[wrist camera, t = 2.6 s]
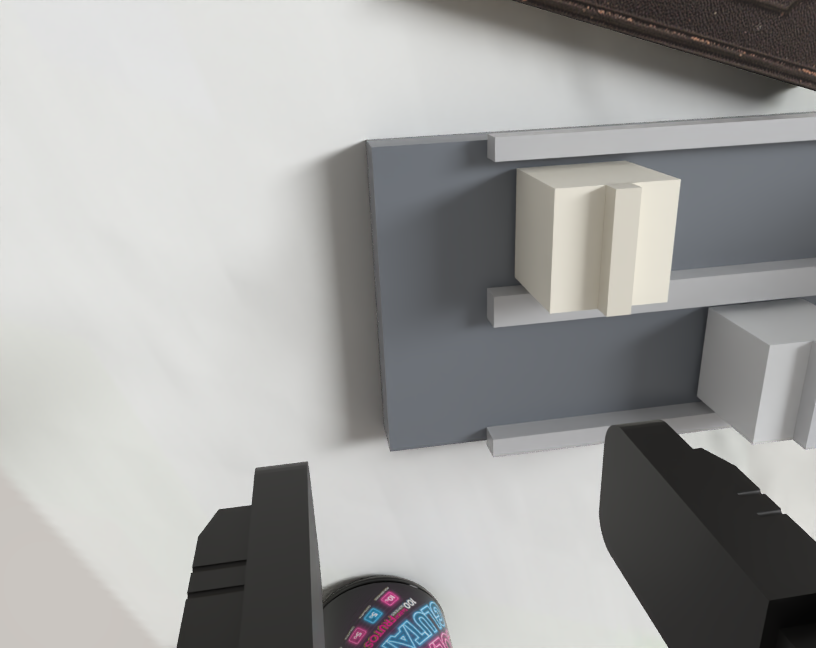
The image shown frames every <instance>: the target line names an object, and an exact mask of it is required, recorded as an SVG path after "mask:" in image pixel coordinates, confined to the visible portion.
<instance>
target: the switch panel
mask: <svg viewBox="0 0 816 648" xmlns="http://www.w3.org/2000/svg"><path fill="white" fill-rule="evenodd" d="M366 149H367V165H368V180H369V196H370V212H371V227H372V243H373V259H374V275H375V290H376V306H377V322H378V337H379V353H380V369H381V384H382V400H383V416H384V428H385V432H386V436H387V440H388V444H389V449H390V451H398V450H406V449H415V448H423V447H431V446H439V445H447V444H456V443H464V442H472V441H480V440H487V446H488V448H489V450H490V452H491V454H492V456H493V457H499V456H507V455H515V454H523V453H531V452H539V451H547V450H555V449H563V448H571V447H579V446H587V445H595V444H603V443H604V442H605V436H606V432H607V430H608V428H609V427H610V426H611V425H617V424H625V423H633V422H641V421H650V420H658V419H659V420H663V421H665V422H666V423H667V424H668V425H669V426H670V427H671V428H672V429H673V430H674V431H675V432H676V433H677V434H683V433H691V432H699V431H707V430H715V429H723V428H731V427H732V426H731V425H729V424H728V423H727V422H726V421H725V420H724V419H722V418H721V417H720V416H719V415H718V414H717V413H715V412H714V411H713V410H712V409H711V408H710V407H709V406H707V405H706V404H705V403H704V402H703V401H702V400H700V399H699V398H698V397H697V391H698V383H699V376H700V368H701V361H702V354H703V346H704V339H705V331H706V324H707V317H708V309H709V307H717V306H727V305H736V304H746V303H756V302H766V301H776V300H786V299H796V298H802V299H804V300H806V301H808V302H810V303H812V304H814V305H816V112H802V113H786V114H770V115H754V116H738V117H722V118H707V119H691V120H675V121H659V122H643V123H627V124H611V125H596V126H580V127H564V128H548V129H532V130H516V131H500V132H485V133H469V134H453V135H437V136H421V137H405V138H389V139H374V140H366ZM612 161H628V162H631V163H634V164H637V165H640V166H643V167H646V168H649V169H652V170H655V171H658V172H661V173H664V174H667V175H670V176H672V177H675V178H678V179H681V183H680V192H679V201H678V210H677V219H676V228H675V237H674V246H673V255H672V265H671V274H670V283H669V292H668V301H667V302H663V303H653V304H643V305H633V306H632V307H631V314H630V315H620V316H610V317H606V316H605V315H604V314H603V313H602V312H600V311H599V310H598V309H593V310H582V311H572V312H562V313H552V314H550V313H549V312H548V311H547V310H546V309H545V308H544V307H543V306H542V305H541V304H540V303H539V302H538V301H537V300H536V299H535V298H534V297H533V296H532V295H531V294H530V293H529V292H528V291H527V289H526V288H525V287H524V286H523V285H522V284H521V283H520V282H519V281H518V280H517V279H516V278H515V231H516V177H517V168H527V167H541V166H555V165H569V164H583V163H598V162H612Z"/></svg>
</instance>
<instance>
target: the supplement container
mask: <svg viewBox="0 0 816 648" xmlns="http://www.w3.org/2000/svg"><path fill="white" fill-rule="evenodd" d="M323 620H324V639H325V648H453V647H452V643H451V639H450V635H449V631H448V628H447V624H446V620H445V616H444V613H443V610H442V608H441V606H440V604H439V603H438V601H437V600H436V599H435V598H434V596H433V595H432V594H431V593H430V592H429V591H427V590H426V589H425V588H424V587H422V586H421V585H419V584H417V583H415V582H413V581H410V580H408V579H404V578H400V577H394V576H374V577H368V578H364V579H360V580H357V581H355V582H352V583H350V584H348V585H346V586H344V587H342V588H341V589H339V590H338V591H336V592H335V593H334V594H332V595H331V596H330V597H329V598H328V599H327V600H326V601H325V602H324V603H323Z"/></svg>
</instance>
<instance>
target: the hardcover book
mask: <svg viewBox="0 0 816 648" xmlns="http://www.w3.org/2000/svg"><path fill="white" fill-rule="evenodd" d="M513 1H517V2H520V3H523V4H527V5H530V6H533V7H537V8H540V9H543V10H547V11H550V12H553V13H557V14H560V15H563V16H567V17H570V18H573V19H577V20H580V21H583V22H587V23H590V24H593V25H597V26H600V27H603V28H607V29H610V30H613V31H617V32H620V33H623V34H627V35H630V36H633V37H637V38H640V39H643V40H647V41H650V42H653V43H657V44H660V45H664V46H667V47H670V48H674V49H677V50H680V51H684V52H687V53H690V54H694V55H697V56H700V57H704V58H707V59H710V60H714V61H717V62H720V63H724V64H727V65H730V66H734V67H737V68H740V69H744V70H747V71H750V72H754V73H757V74H760V75H764V76H767V77H770V78H774V79H777V80H780V81H784V82H787V83H790V84H794V85H797V86H800V87H804V88H807V89H810V90H814V91H816V0H513Z"/></svg>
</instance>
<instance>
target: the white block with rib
mask: <svg viewBox="0 0 816 648" xmlns="http://www.w3.org/2000/svg"><path fill="white" fill-rule="evenodd" d="M697 397H698V398H699V399H700V400H702V401H703V402H704V403H705V404H706V405H707V406H709V407H710V408H711V409H712V410H713V411H714V412H715V413H717V414H718V415H719V416H720V417H721V418H722V419H724V420H725V421H726V422H727V423H728V424H729V425H731V426H732V427H733V428H734V429H735V430H736V431H738V432H739V433H740V434H741V435H742V436H743V437H744V438H746V439H747V440H748V441H749V442H750V443H751V444H761V443H769V442H776V441H784V440H792V439H793V440H794V441H795V442H796V443H798V444H799V445H800V446H801V447H803V448H804V449H805V450H806V449H814V448H816V305H814V304H812V303H810V302H808V301H806V300H804V299H802V298H796V299H786V300H776V301H766V302H756V303H746V304H736V305H727V306H717V307H709V309H708V317H707V324H706V331H705V339H704V346H703V354H702V361H701V368H700V376H699V383H698V391H697Z"/></svg>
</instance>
